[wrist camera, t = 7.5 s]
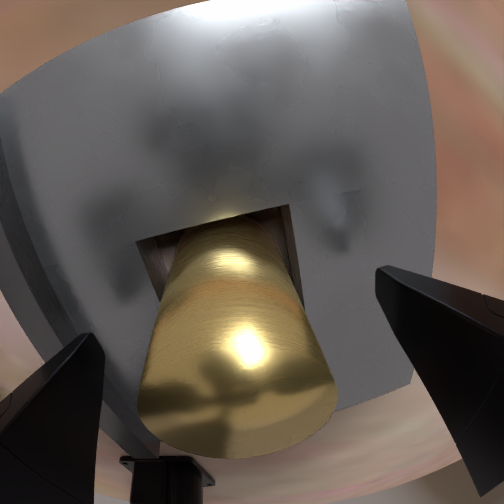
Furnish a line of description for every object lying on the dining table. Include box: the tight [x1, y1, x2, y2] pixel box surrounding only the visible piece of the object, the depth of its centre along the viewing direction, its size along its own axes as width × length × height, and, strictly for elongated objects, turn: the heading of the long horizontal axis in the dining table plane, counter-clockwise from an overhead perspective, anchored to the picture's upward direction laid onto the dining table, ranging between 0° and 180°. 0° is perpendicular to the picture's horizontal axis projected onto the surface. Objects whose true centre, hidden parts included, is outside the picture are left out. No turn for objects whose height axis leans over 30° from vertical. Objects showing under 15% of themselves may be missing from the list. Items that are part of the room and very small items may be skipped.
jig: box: [0, 0, 437, 459], centre depth 10 cm, size 18×16×3 cm
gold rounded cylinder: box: [137, 214, 338, 459], centre depth 8 cm, size 4×4×7 cm
